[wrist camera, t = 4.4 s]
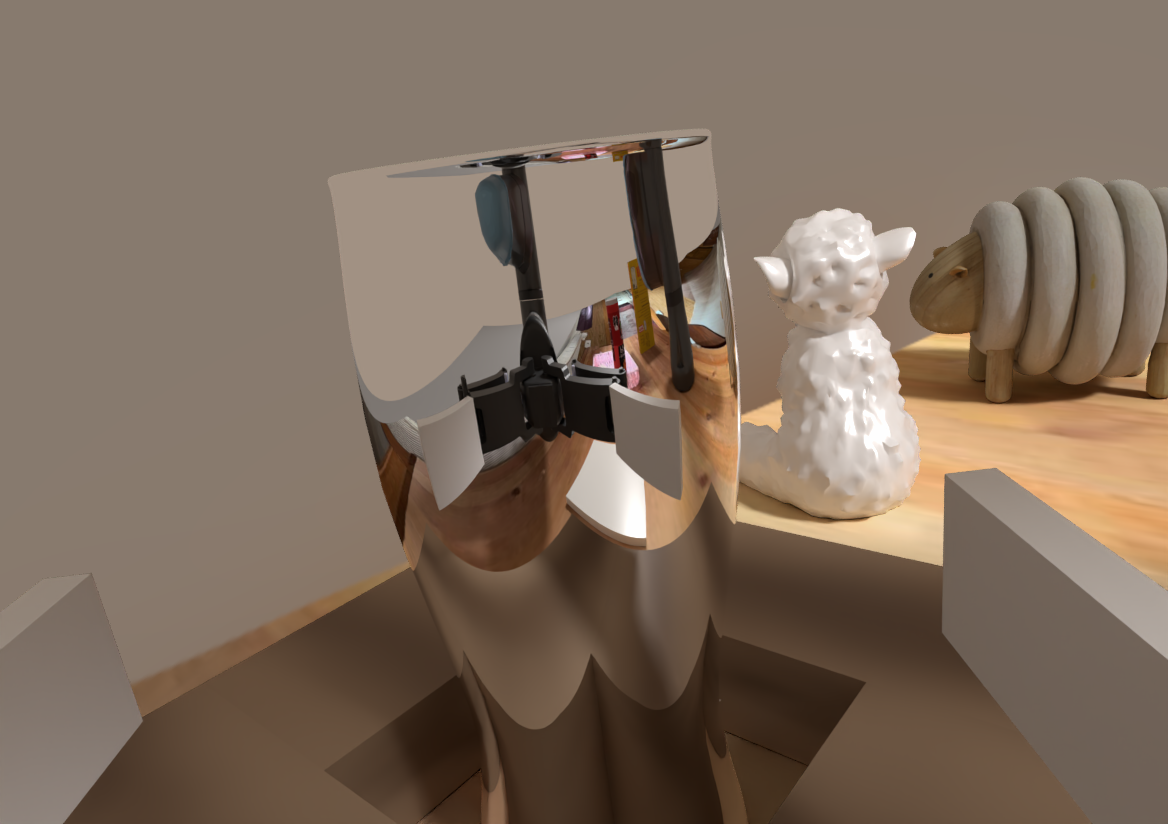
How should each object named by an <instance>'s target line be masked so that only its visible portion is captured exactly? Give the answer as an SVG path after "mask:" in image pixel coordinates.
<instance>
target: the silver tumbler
mask: <svg viewBox="0 0 1168 824" xmlns="http://www.w3.org/2000/svg"><path fill="white" fill-rule="evenodd" d="M711 137H712V134H711V132H710V130H708V129H684V130H672V131H661V132H651V133H642V134H633V135H622V136H613V137H605V138H595V139H587V140H578V141H570V142H561V143H553V144H546V145H538V146H529V147H521V148H513V149H505V150H497V151H490V152H482V153H475V154H467V155H459V156H452V157H445V158H437V159H430V160H423V161H416V162H409V163H402V164H396V165H389V166H382V167H376V168H370V169H363V170H358V171H352V172H347V173H342V174H338V175H334V176H331V177H330V178H329V179H328V185H329V187H330V191H331V195H332V201H333V206H334V213H335V220H336V227H337V235H338V242H339V251H340V259H341V268H342V277H343V285H344V294H345V301H346V307H347V315H348V322H349V329H350V337H351V344H352V352H353V357H354V363H355V368H356V373H357V379H358V384H359V390H360V395H361V401H362V406H363V412H364V417H365V422H366V426H367V430H368V433H369V437H370V442H371V446H372V450H373V454H374V457H375V462H376V465H377V470H378V473H379V478H380V482H381V486H382V489H383V492H384V495H385V498H386V501H387V503H388V506H389V509H390V512H391V515H392V518H393V521H394V523H395V526H396V529H397V532H398V535H399V537H400V540H401V543H402V546H403V549H404V552H405V554H406V557H407V559H408V562H409V564H410V566H411V569H412V571H413V574H414V576H415V578H416V581H417V583H418V586H419V588H420V590H421V593H422V595H423V598H424V600H425V602H426V605H427V607H428V610H429V612H430V614H431V617H432V619H433V621H434V624H435V626H436V628H437V631H438V633H439V635H440V638H441V640H442V642H443V644H444V647H445V649H446V651H447V654H448V656H449V658H450V661H451V663H452V665H453V668H454V670H455V673H456V675H457V678H458V680H459V683H460V685H461V688H462V690H463V693H464V695H465V698H466V700H467V703H468V705H469V708H470V712H471V715H472V719H473V723H474V726H475V730H476V733H477V737H478V744H479V750H480V756H481V770H482V798H481V824H748V819H747V812H746V808H745V803H744V799H743V795H742V792H741V789H740V785H739V782H738V779H737V775H736V772H735V769H734V766H733V763H732V759H731V756H730V753H729V750H728V746H727V742H726V738H725V734H724V730H723V725H722V717H721V709H720V699H719V664H720V653H721V643H722V632H723V623H724V615H725V607H726V600H727V592H728V584H729V576H730V568H731V560H732V551H733V542H734V534H735V525H736V516H737V506H738V491H739V475H740V459H741V443H742V431H741V397H740V367H739V357H738V346H737V336H736V325H735V315H734V304H733V296H732V289H731V281H730V274H729V267H728V260H727V254H726V245H725V239H724V232H723V226H722V220H721V214H720V207H719V201H718V196H717V190H716V189H717V188H716V181H715V174H714V167H713V160H712V149H711Z"/></svg>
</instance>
